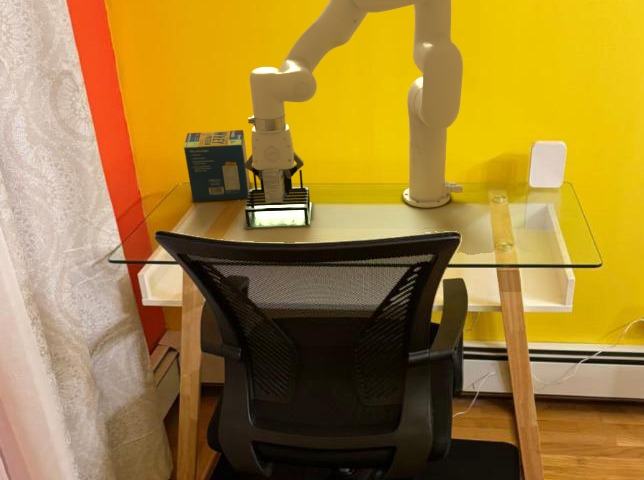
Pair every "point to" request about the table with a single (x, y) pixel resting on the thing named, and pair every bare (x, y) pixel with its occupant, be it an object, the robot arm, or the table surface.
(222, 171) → the protein box
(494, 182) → the table surface
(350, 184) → the table surface
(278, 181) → the medicine box
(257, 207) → the dish rack
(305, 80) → the robot arm
